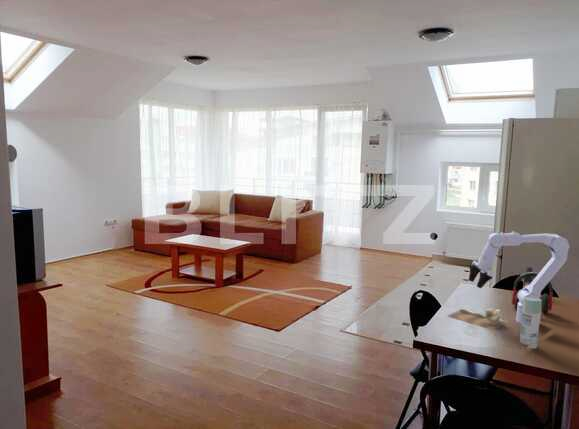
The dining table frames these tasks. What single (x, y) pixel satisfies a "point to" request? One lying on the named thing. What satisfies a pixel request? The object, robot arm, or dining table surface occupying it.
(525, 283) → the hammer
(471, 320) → the walnut board
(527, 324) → the spray paint can
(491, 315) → the block
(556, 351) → the dining table surface
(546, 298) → the headphones
